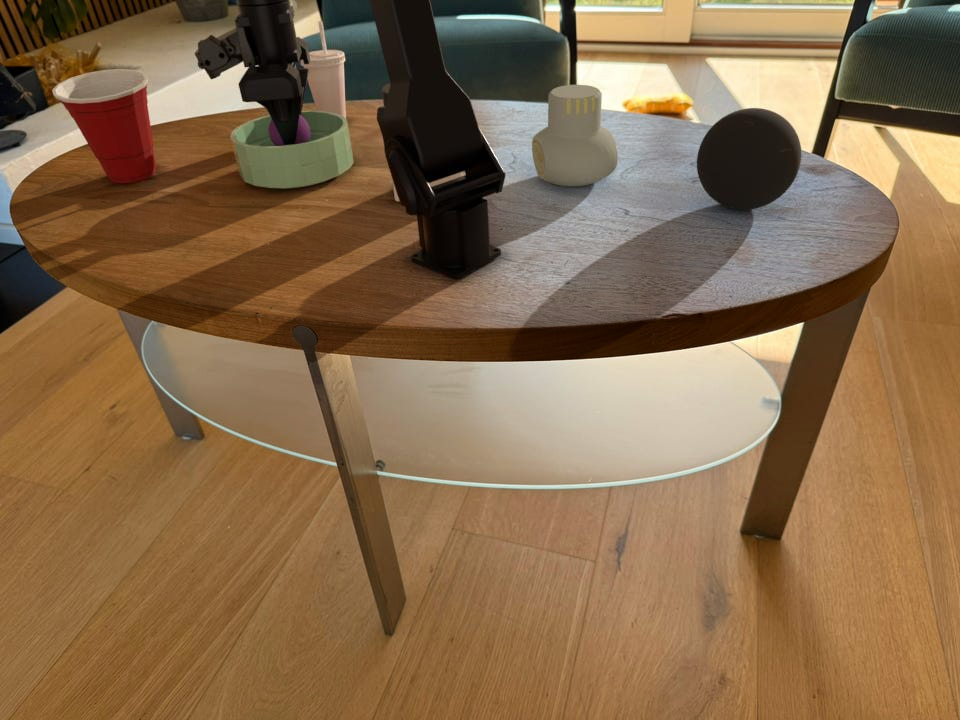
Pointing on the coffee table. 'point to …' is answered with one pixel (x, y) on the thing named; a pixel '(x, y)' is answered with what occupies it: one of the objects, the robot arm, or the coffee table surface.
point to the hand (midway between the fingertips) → (292, 139)
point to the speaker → (749, 158)
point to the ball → (301, 136)
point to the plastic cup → (113, 120)
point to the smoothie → (327, 78)
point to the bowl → (293, 152)
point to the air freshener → (574, 139)
